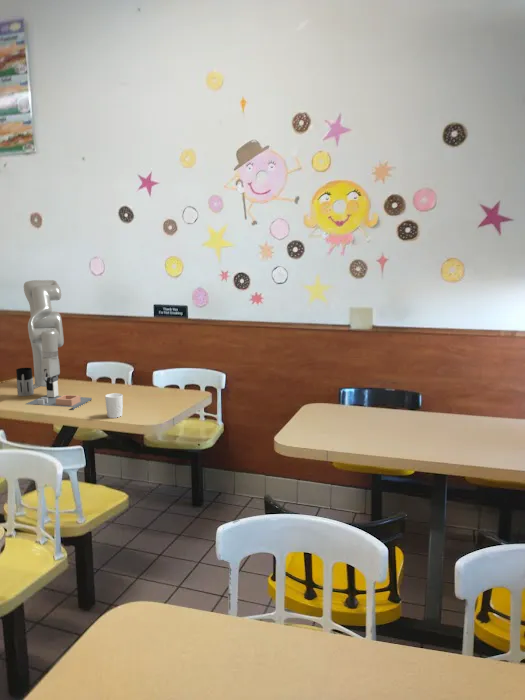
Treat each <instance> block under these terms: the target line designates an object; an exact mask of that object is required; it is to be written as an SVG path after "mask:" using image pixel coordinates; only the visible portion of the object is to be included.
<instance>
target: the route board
mask: <svg viewBox="0 0 525 700" xmlns="http://www.w3.org/2000/svg"><path fill="white" fill-rule="evenodd" d="M90 400H92V397H83V396H81V395H75V394H73V395H72V394H64V395H58V396H56V397H47V394H45V395H43V396H40V397H38V398H36V399H33V400H31V401H29V402H26V403H25V405H30V406H31V405H32V406H46V407H47V406H49V407H67V408H69V409H68V411H74V409H75V408H77V407H78V408H80V407H82V406H84V405H86V404H87V403H86V402H88V401H90ZM90 402H91V401H90ZM85 403H86V404H85ZM88 403H89V402H88ZM83 404H84V405H83ZM81 405H82V406H81ZM79 406H80V407H79ZM78 408H77V409H78ZM75 410H76V409H75Z"/></svg>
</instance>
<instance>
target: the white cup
mask: <svg viewBox="0 0 525 700" xmlns="http://www.w3.org/2000/svg"><path fill="white" fill-rule="evenodd" d="M104 397H105V408H106V416H107V418H110V419H118V418H121V417H123V409H124V408H123V405H124V395H123V394H122V393H119V392H118V393H117V392H115V393H107V394H105V395H104ZM120 416H121V417H120ZM117 417H118V418H117Z"/></svg>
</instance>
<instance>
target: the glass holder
mask: <svg viewBox="0 0 525 700" xmlns="http://www.w3.org/2000/svg"><path fill="white" fill-rule="evenodd" d="M15 371H16V388H17V391H16V392H17V396H18V397H28V396H33V395H34V390H35V389H34V388H33V385H34V379H33V369H32V367H20V368H16V369H15Z"/></svg>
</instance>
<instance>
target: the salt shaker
mask: <svg viewBox="0 0 525 700" xmlns="http://www.w3.org/2000/svg"><path fill="white" fill-rule="evenodd" d="M48 379H49V380H50V378H48ZM52 383H53V390H52V391H49V390H47V389H46V395H47V397H56V396H59V384H58V383H59V377H57V376H53V377H52Z"/></svg>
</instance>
